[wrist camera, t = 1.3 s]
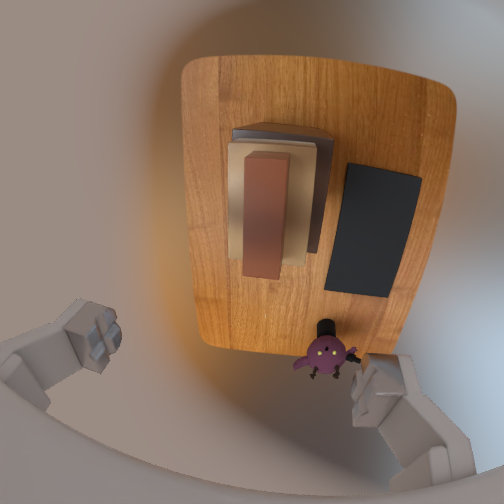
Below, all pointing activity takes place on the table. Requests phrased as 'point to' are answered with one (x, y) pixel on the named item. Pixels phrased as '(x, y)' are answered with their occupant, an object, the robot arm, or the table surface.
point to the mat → (371, 230)
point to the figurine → (326, 351)
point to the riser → (322, 163)
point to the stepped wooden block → (269, 203)
